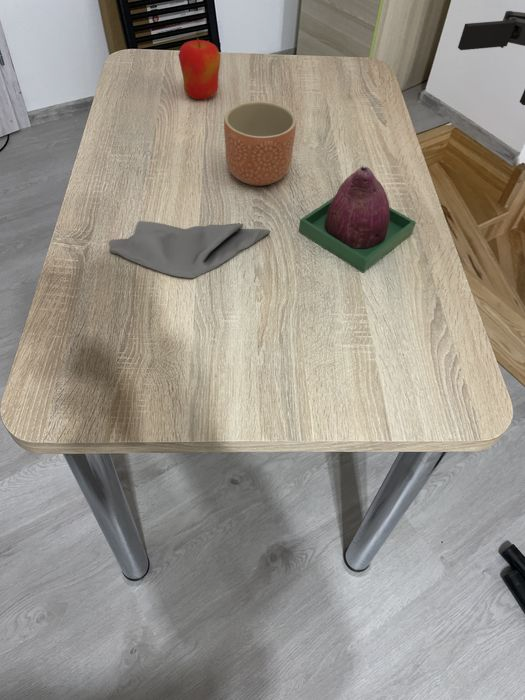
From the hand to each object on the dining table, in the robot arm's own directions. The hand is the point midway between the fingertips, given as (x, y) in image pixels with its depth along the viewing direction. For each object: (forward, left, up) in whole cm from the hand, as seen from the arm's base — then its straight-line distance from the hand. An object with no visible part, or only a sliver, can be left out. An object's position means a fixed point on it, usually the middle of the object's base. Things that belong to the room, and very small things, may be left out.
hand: (492, 62), depth 61 cm
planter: (+35, 0, -32) cm, 48 cm away
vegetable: (+12, 0, -32) cm, 34 cm away
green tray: (+12, 0, -32) cm, 34 cm away
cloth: (+28, +23, -32) cm, 49 cm away
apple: (+64, -12, -32) cm, 73 cm away
